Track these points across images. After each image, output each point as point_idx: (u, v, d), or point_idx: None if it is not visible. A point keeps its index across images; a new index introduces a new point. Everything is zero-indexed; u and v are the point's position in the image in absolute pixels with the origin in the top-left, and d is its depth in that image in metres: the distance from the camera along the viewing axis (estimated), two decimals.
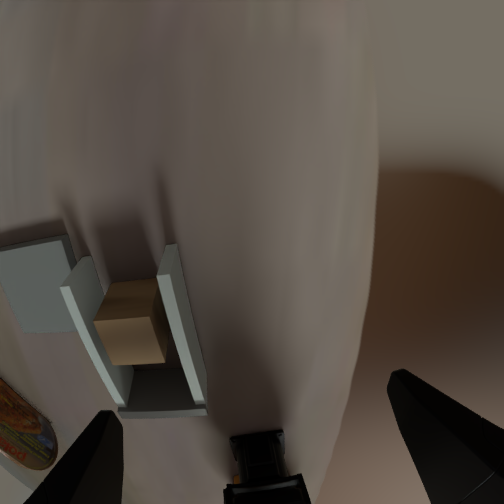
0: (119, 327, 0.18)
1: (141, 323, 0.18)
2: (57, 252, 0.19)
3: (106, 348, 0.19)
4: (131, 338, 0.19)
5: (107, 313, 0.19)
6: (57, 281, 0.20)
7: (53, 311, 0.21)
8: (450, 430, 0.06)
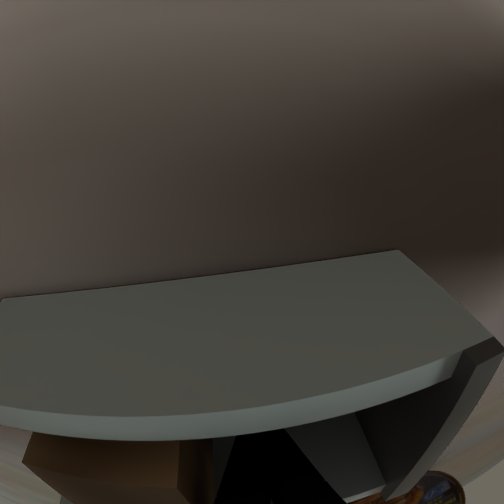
0: (83, 502, 0.05)
1: (49, 478, 0.05)
2: None
3: None
4: (108, 503, 0.05)
5: None
6: None
7: None
8: (274, 486, 0.05)
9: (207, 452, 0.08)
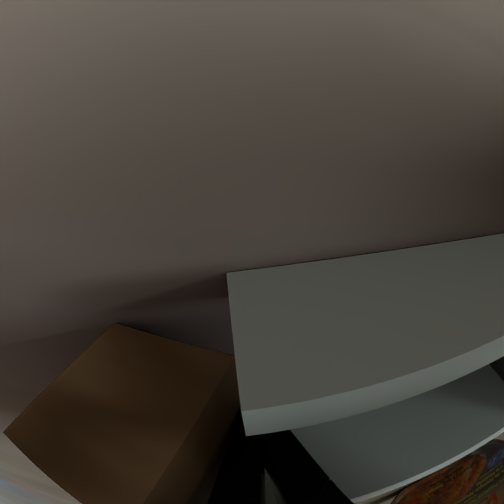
0: None
1: None
2: None
3: None
4: None
5: None
6: None
7: None
8: (279, 485, 0.05)
9: (212, 486, 0.07)
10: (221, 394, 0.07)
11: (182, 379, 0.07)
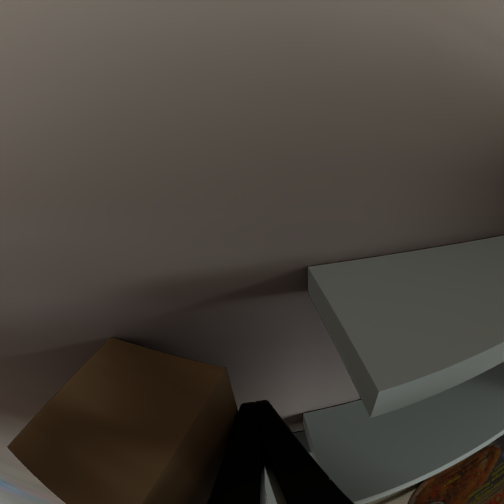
0: None
1: None
2: None
3: None
4: None
5: None
6: None
7: None
8: (279, 485, 0.05)
9: None
10: (213, 406, 0.07)
11: (174, 393, 0.07)
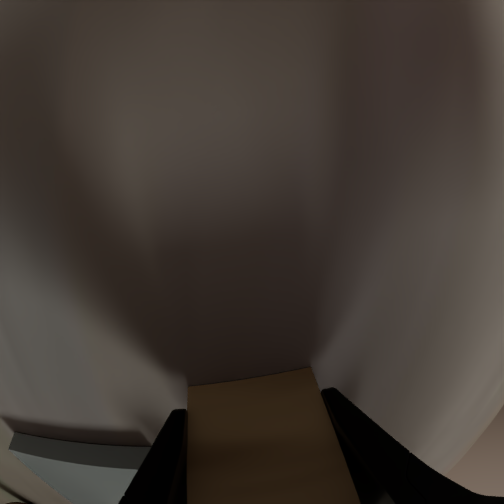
0: None
1: None
2: None
3: None
4: None
5: None
6: None
7: None
8: (367, 464, 0.05)
9: None
10: None
11: None
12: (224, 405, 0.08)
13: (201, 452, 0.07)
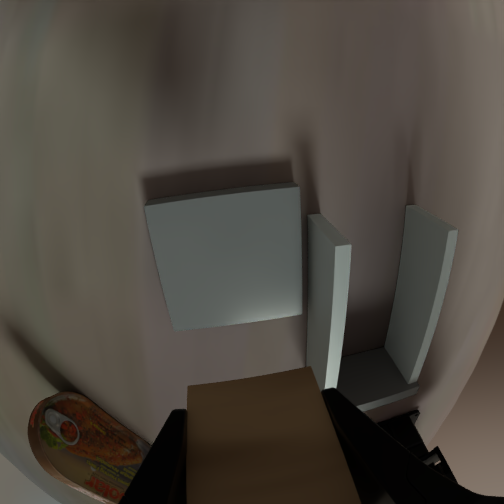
0: None
1: None
2: (288, 204, 0.16)
3: None
4: None
5: None
6: (273, 248, 0.17)
7: (247, 293, 0.18)
8: (367, 464, 0.05)
9: None
10: None
11: None
12: (224, 404, 0.08)
13: (201, 451, 0.07)
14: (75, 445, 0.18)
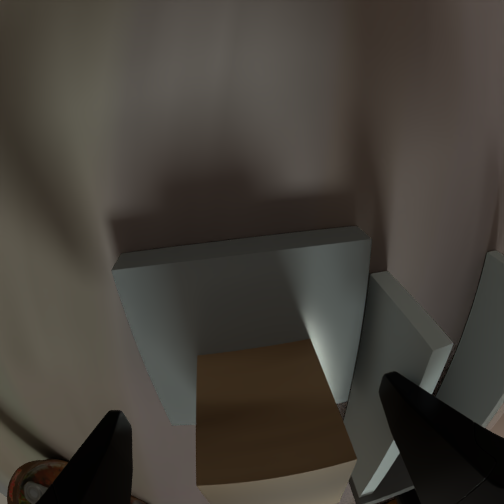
0: (270, 486, 0.06)
1: (330, 473, 0.06)
2: (351, 266, 0.10)
3: None
4: (289, 495, 0.07)
5: (230, 459, 0.07)
6: (321, 329, 0.11)
7: None
8: (441, 435, 0.06)
9: None
10: None
11: None
12: (231, 371, 0.10)
13: (209, 412, 0.08)
14: None
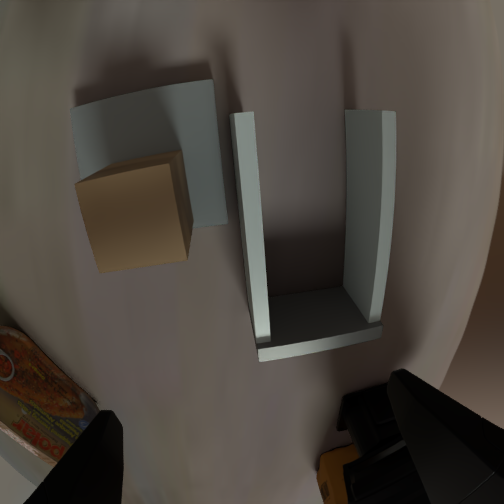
0: (116, 189, 0.11)
1: (154, 178, 0.11)
2: (201, 96, 0.14)
3: (91, 238, 0.12)
4: (133, 213, 0.12)
5: (99, 175, 0.11)
6: (188, 142, 0.15)
7: None
8: (450, 430, 0.06)
9: None
10: None
11: (190, 212, 0.16)
12: (125, 162, 0.14)
13: (102, 171, 0.13)
14: (7, 382, 0.16)
